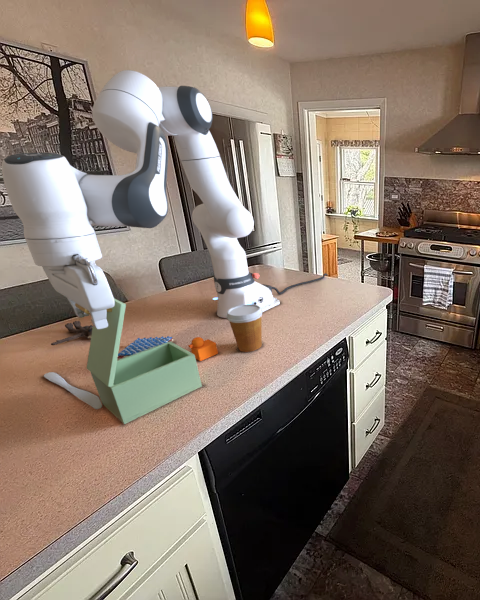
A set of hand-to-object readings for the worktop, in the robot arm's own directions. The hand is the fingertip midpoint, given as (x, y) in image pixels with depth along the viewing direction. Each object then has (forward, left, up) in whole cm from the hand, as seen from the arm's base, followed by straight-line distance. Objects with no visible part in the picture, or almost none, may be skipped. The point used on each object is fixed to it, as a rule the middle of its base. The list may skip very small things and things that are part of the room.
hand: (92, 321), depth 63 cm
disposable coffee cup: (-32, -2, -21) cm, 38 cm away
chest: (-6, 0, -21) cm, 22 cm away
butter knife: (+4, -17, -21) cm, 27 cm away
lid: (-1, 0, -4) cm, 4 cm away
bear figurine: (-8, -51, -21) cm, 56 cm away
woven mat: (-14, -24, -21) cm, 35 cm away
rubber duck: (-22, -8, -21) cm, 31 cm away
